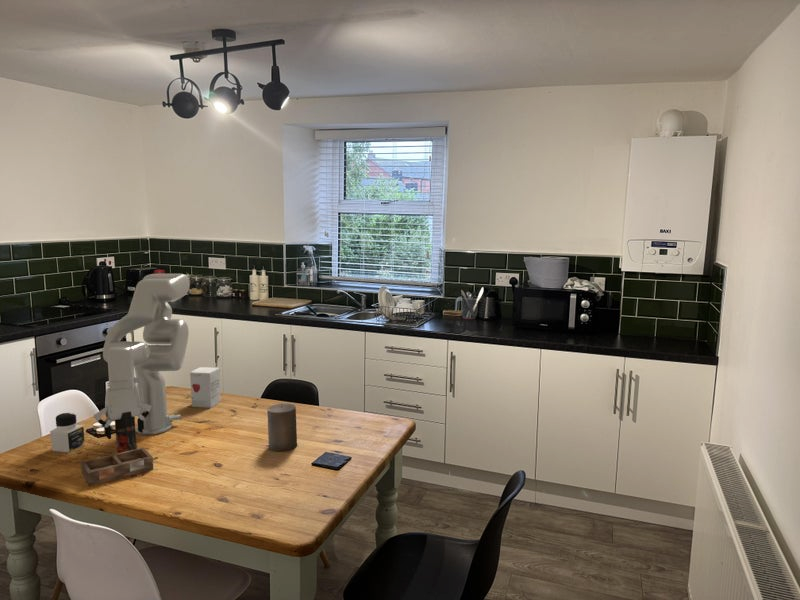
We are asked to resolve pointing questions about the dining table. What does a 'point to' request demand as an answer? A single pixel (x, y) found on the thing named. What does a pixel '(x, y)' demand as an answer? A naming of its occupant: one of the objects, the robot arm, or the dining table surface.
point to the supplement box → (205, 387)
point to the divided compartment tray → (116, 466)
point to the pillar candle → (282, 427)
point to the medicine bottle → (67, 433)
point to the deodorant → (125, 433)
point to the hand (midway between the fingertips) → (124, 434)
